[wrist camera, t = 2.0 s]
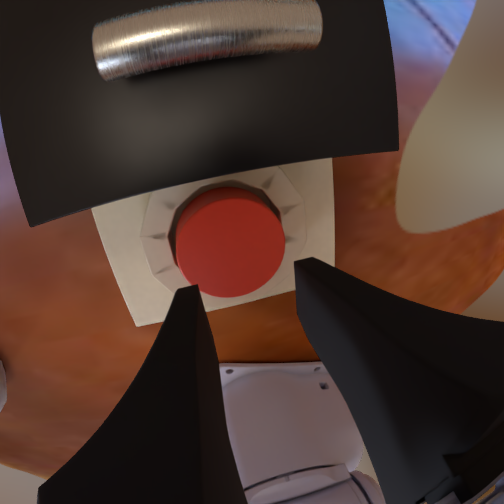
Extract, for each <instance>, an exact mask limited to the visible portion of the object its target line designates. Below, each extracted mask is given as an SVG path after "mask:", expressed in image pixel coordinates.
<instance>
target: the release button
mask: <svg viewBox="0 0 504 504" xmlns="http://www.w3.org/2000/svg"><path fill="white" fill-rule="evenodd" d="M284 252H285V235H284V231H283V227H282V225H281V223H280V221H279V219H278V218H277V217H276V215H275V214H274V213H273V212H272V211H271V209H270V208H269V207H268V206H267V205H266V204H265V203H264V202H263V201H262V200H261V199H260V198H259V197H258V196H257V195H255V194H253V193H252V192H250V191H248V190H245V189H242V188H238V187H219V188H214V189H211V190H208V191H206V192H204V193H202V194H200V195H199V196H197V197H196V198H194V199H193V200H192V201H191V202H190V203H189V204H188V205H187V206H186V208H185V209H184V210H183V212H182V214H181V216H180V218H179V220H178V223H177V228H176V258H177V263H178V266H179V269H180V271H181V273H182V275H183V276H184V277H185V279H186V280H187V281H188V282H189V283H190V284H191V285H196V284H198V286H199V290H200V291H201V292H203V293H205V294H208V295H211V296H214V297H221V298H232V297H239V296H243V295H246V294H249V293H251V292H253V291H255V290H257V289H259V288H260V287H262V286H263V285H265V284H266V283H267V282H268V281H269V280H270V279H271V278H272V277H273V276H274V274H275V273H276V272H277V270H278V268H279V266H280V265H281V262H282V260H283V256H284Z"/></svg>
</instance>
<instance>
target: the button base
mask: <svg viewBox="0 0 504 504" xmlns="http://www.w3.org/2000/svg"><path fill="white" fill-rule="evenodd" d="M219 187H238V188H242V189H245V190H248V191H250V192H252V193H253V194H255V195H257V196H258V197H259V198H260V199H261V200H262V201H263V202H264V203H265V204H266V205H267V206H268V207H269V208H270V209H271V211H272V212H273V213H274V214H275V215H276V217H277V218H278V219H279V221H280V223H281V225H282V227H283V231H284V235H285V252H284V256H283V260H282V262H281V265H280V266H279V268H278V270H277V272H276V273H275V274H274V276H273V277H272V278H271V279H270V280H269V281H268V282H267V283H266V284H265V285H263V286H262V287H260V288H259V289H257V290H255V291H253V292H251V293H249V294H246V295H243V296H239V297H232V298H221V297H214V296H211V295H208V294H205V293H203V292H201V291H200V293H201V297H202V301H203V304H204V308H205V311H206V312H208V311H212V310H216V309H221V308H226V307H230V306H234V305H239V304H243V303H247V302H251V301H255V300H258V299H261V298H265V297H269V296H273V295H277V294H281V293H285V292H289V291H292V290H296V289H295V275H294V261H297V260H301V259H305V258H309V257H315V258H317V259H319V260H321V261H323V262H325V263H327V264H330V265H332V266H334V267H335V220H334V188H333V168H332V158H327V159H319V160H312V161H305V162H298V163H292V164H285V165H279V166H273V167H267V168H261V169H256V170H250V171H245V172H239V173H234V174H229V175H224V176H219V177H214V178H209V179H205V180H200V181H195V182H191V183H186V184H182V185H178V186H173V187H169V188H165V189H161V190H157V191H153V192H149V193H145V194H141V195H137V196H133V197H129V198H125V199H122V200H118V201H114V202H111V203H107V204H104V205H100V206H97V207H93V208H91V210H92V213H93V217H94V220H95V223H96V226H97V229H98V232H99V235H100V237H101V240H102V243H103V246H104V249H105V252H106V254H107V257H108V260H109V262H110V265H111V268H112V270H113V273H114V275H115V278H116V280H117V283H118V285H119V288H120V290H121V292H122V295H123V297H124V300H125V302H126V304H127V306H128V309H129V311H130V313H131V316H132V318H133V320H134V322H135V324H136V326H137V327H138V326H143V325H148V324H153V323H158V322H162V321H164V320H165V317H166V315H167V312H168V310H169V308H170V305H171V302H172V300H173V297H174V294H175V292H176V290H177V289H178V288H183V287H187V286H191V284H190V283H189V282H188V281H187V280H186V279H185V277H184V276H183V275H182V273H181V271H180V269H179V266H178V263H177V258H176V228H177V223H178V220H179V218H180V216H181V214H182V212H183V210H184V209H185V208H186V206H187V205H188V204H189V203H190V202H191V201H192V200H193V199H194V198H196V197H197V196H199V195H200V194H202V193H204V192H206V191H208V190H211V189H214V188H219Z"/></svg>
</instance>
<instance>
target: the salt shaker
mask: <svg viewBox="0 0 504 504" xmlns="http://www.w3.org/2000/svg"><path fill="white" fill-rule="evenodd" d="M6 399H7V388H6V373H5V370H4V367H3V364H2V361H1V359H0V412H1V410H2V408H3V406H4V404H5V403H6Z"/></svg>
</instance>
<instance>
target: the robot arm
mask: <svg viewBox="0 0 504 504" xmlns="http://www.w3.org/2000/svg"><path fill="white" fill-rule="evenodd" d="M294 275H295V289H296V305H297V315H298V317H299V320H300V322H301V324H302V327H303V329H304V331H305V333H306V336H307V338H308V340H309V342H310V343H311V345H312V347H313V348H314V350H315V352H316V353H317V355H318V357H319V358H320V360H321V361H322V362H302V363H220V364H219V361H218V357H217V352H216V348H215V344H214V339H213V335H212V332H211V328H210V325H209V321H208V318H207V315H206V311H205V308H204V304H203V301H202V297H201V293H200V290H199V286H198V284H196V285H191V286H187V287H183V288H178V289H177V290H176V292H175V294H174V297H173V300H172V302H171V305H170V308H169V310H168V312H167V315H166V317H165V320H164V322H163V324H162V326H161V329H160V331H159V333H158V335H157V337H156V340H155V342H154V344H153V346H152V347H151V349H150V351H149V353H148V355H147V357H146V359H145V361H144V363H143V365H142V366H141V368H140V370H139V372H138V373H137V375H136V377H135V378H134V380H133V382H132V383H131V385H130V386H129V388H128V389H127V391H126V392H125V394H124V395H123V397H122V398H121V400H120V401H119V402H118V404H117V405H116V407H115V408H114V409H113V411H112V412H111V413H110V415H109V416H108V417H107V419H106V420H105V421H104V423H103V424H102V425H101V426H100V427H99V429H98V430H97V431H96V432H95V433H94V434H93V436H92V437H91V438H90V439H89V440H88V441H87V442H86V443H85V444H84V446H83V447H82V448H81V449H80V450H79V451H78V452H77V453H76V454H75V455H74V456H73V457H72V458H71V459H70V460H69V461H68V462H67V463H66V464H65V465H64V466H62V467H61V468H60V469H59V470H58V471H57V472H56V473H55V474H54V475H53V476H51V477H50V478H49V479H48V480H47V481H46V482H45V483H44V484H42V485H41V486H40V487H39V488H38V495H37V504H424V503H425V502H427V504H472V503H473V502H474V501H476V500H477V499H478V498H479V497H480V496H482V495H483V494H484V493H485V492H486V491H488V490H489V489H490V488H491V487H492V486H493V485H495V484H496V488H495V490H494V491H493V492H492V493H490V494H489V495H487V496H486V497H485V498H483V499H482V500H480V501H479V502H477V503H476V504H504V322H500V321H493V320H485V319H478V318H473V317H467V316H463V315H458V314H454V313H450V312H446V311H442V310H438V309H434V308H431V307H428V306H425V305H422V304H419V303H416V302H413V301H410V300H407V299H404V298H401V297H399V296H396V295H394V294H391V293H389V292H387V291H384V290H382V289H379V288H377V287H375V286H373V285H371V284H368V283H366V282H364V281H362V280H360V279H358V278H356V277H354V276H352V275H350V274H348V273H346V272H344V271H342V270H340V269H338V268H336V267H334V266H332V265H330V264H327V263H325V262H323V261H321V260H319V259H317V258H315V257H309V258H305V259H301V260H297V261H294ZM228 369H230V370H228ZM363 442H364V444H365V446H366V449H367V452H368V454H369V457H370V459H371V462H372V465H373V467H374V470H375V472H376V475H377V478H378V481H379V484H380V487H381V488H380V487H379V485H378V484H377V483H376V481H375V480H374V479H373V478H371V477H370V476H369V475H366V474H363V473H362V472H359V471H354V470H355V469H356V468H357V466H358V465H359V463H360V461H361V458H362V455H363Z"/></svg>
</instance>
